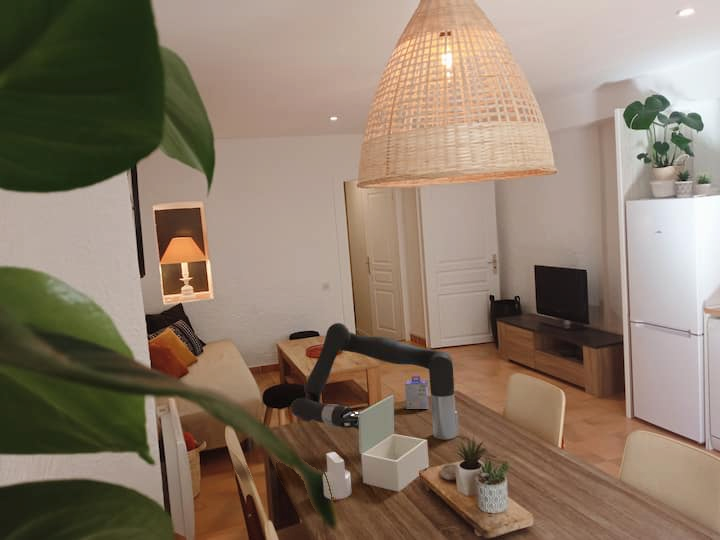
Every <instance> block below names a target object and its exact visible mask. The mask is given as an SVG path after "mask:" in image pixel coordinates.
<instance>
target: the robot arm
mask: <svg viewBox="0 0 720 540" xmlns="http://www.w3.org/2000/svg"><path fill="white" fill-rule="evenodd" d="M326 330H327V331H326V335H325V338H324V342H323V345H322V349H321V351H320V353H319V355H318V358H317V360H316V362H315V363H314V367H313V368H312V370H311V373H310V374H309V376H308V379H307V381H306V383H305V385H304V388H303V391H304V393H305V394H306V398H305V397H299V398H296V399H294V400H293V401H291V404H290V411H291V413H292V415H294V416H295V417H297V418H298V419H300V420H302V421H304V422H311V421H312V420H313V421H315V422H318V423H322V424H325V425H326V424H327V425H329V426H333V427H339V428H343V429H349V428H359V413H360V412H359V411H353V409H352V408H351V407H350V406H347V405H341V404H333V403H331V404H330V403H329V404H328V403H324V402H320V401H321V396H322V393H323V392H324V388H325V386H326V384H327V383H328V380H329V377H330V374H331V371H332V368H333V365H334V362H335V360H336V358H337V356H338V354H339V353H340V351H341V352H350V353H356V354H360V355H363V356H366V357H368V358H372V359H375V360H377V361H381V362H385V363H388V364H394V365H405V366H407V365H409V366H410V365H411V366H416V367H417V366H418V367H422V368H424V369H427V370H428V374H429V385H430V386H429V388H430V398H431V399H430V402H431V416H432V418H431V419H432V433H433V437H434V438H435V439H438V440H451V439H455V438H456V437H459V436H460V431H459V430H460V429H459V415H458V411H457V410H456V400H455V399H456V397H455V379H454V377H455V376H454V365H453V359H452V357H451V355H450V354H448V353H447V352H445V351H441V350H433V349H428V348H423V347H417V346H415V345H412V344H409V343H406V342H402V341H400V340H396V339H393V338H388V337H385V336H384V337H382V336H364V335H359V334H356V333H353V332H350V331H349V328H348V327H347V326H346V325H345V324H343V323H339V322H336V323H333V324H331V325H330V326H329V327H328V328H327V329H326Z"/></svg>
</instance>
